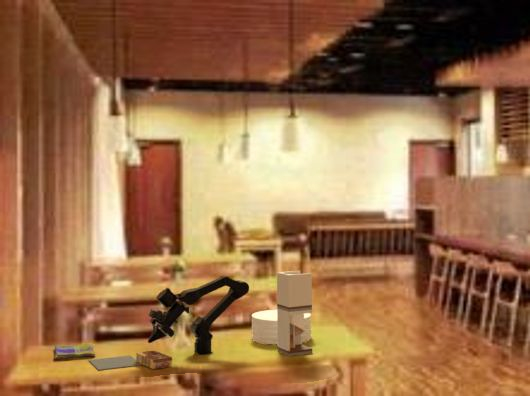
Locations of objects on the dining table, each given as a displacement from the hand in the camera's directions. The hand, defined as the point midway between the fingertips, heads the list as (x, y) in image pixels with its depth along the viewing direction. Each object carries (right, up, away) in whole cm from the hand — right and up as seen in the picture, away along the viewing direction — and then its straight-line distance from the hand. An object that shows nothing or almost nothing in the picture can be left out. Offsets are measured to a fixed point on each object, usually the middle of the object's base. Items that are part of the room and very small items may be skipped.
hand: (148, 342), depth 337 cm
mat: (-13, -8, -6) cm, 16 cm away
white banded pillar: (+63, -6, +10) cm, 64 cm away
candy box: (-1, -5, -3) cm, 6 cm away
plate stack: (+58, -5, +38) cm, 69 cm away
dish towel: (-35, -8, +13) cm, 38 cm away
